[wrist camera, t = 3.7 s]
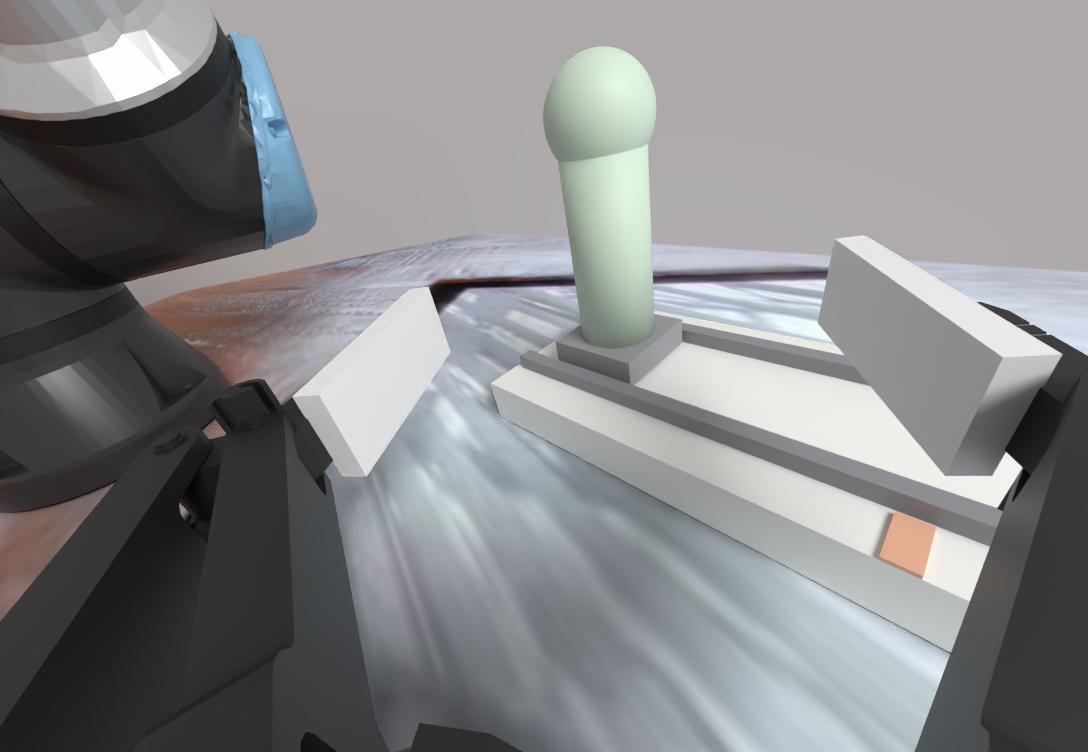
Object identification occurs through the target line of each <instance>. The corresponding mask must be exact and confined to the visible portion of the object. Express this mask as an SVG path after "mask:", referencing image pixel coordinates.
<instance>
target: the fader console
mask: <svg viewBox="0 0 1088 752" xmlns="http://www.w3.org/2000/svg"><path fill="white" fill-rule="evenodd" d="M654 314H657V315H662V316H667V317H672V318H678V319H682V343H681V344H680V345H679V346H678V347H677V348H676V349H674V350H673V351H672V352H671V353H670V354H669V355H668V356H667V357H665V358H664V359H663V360H662V361H661V362H660V363H659V364H658V365H656V366H655V367H654V368H653V369H652V370H651V371H650V372H649V373H647V374H646V375H645V376H644V377H643V378H642V379H641V380H639V381H638V382H637V383H636V384H635V385H631V384H628V383H625V382H622V381H619V380H616V379H613V378H610V377H607V376H604V375H601V374H599V373H596V372H593V371H590V370H587V369H584V368H581V367H578V366H575V365H572V364H569V363H566V362H563V361H560V360H559V359H558V353H557V348H556V342H555V341H557V340H558V339H560V338H561V337H563V336H564V335H566V334H567V333H569V332H570V331H572V330H573V329H575V328H576V327H578V326H579V325H581V324H579V325H578V326H576V327H575V328H573V329H572V330H570V331H569V332H567V333H566V334H564V335H563V336H561V337H560V338H558V339H557V340H555V341H553V342H552V343H550V344H549V345H547V346H546V347H544V348H543V349H541V350H540V351H538V352H537V353H536V352H533V351H530V350H529V351H528V352H526V353H525V354H523V355H522V356H520V358H521V362H522V363H520V364H519V365H517V366H516V367H514V368H513V369H511V370H510V371H508V372H507V373H505V374H504V375H502V376H501V377H499V378H498V379H496V380H495V381H493V382H492V383H491V386H492V390H493V393H494V396H495V400H496V403H497V406H498V410H499V413H500V416H501V417H503V418H505V419H507V420H509V421H511V422H513V423H514V424H516V425H518V426H520V427H522V428H524V429H526V430H528V431H530V432H532V433H533V434H535V435H537V436H539V437H541V438H543V439H545V440H547V441H549V442H551V443H552V444H554V445H556V446H558V447H560V448H562V449H564V450H566V451H568V452H570V453H572V454H573V455H575V456H577V457H579V458H581V459H583V460H585V461H587V462H589V463H591V464H592V465H594V466H596V467H598V468H600V469H602V470H604V471H606V472H608V473H610V474H611V475H613V476H615V477H617V478H619V479H621V480H623V481H625V482H627V483H629V484H630V485H632V486H634V487H636V488H638V489H640V490H642V491H644V492H646V493H648V494H650V495H651V496H653V497H655V498H657V499H659V500H661V501H663V502H665V503H667V504H669V505H670V506H672V507H674V508H676V509H678V510H680V511H682V512H684V513H686V514H688V515H689V516H691V517H693V518H695V519H697V520H699V521H701V522H703V523H705V524H707V525H708V526H710V527H712V528H714V529H716V530H718V531H720V532H722V533H724V534H726V535H727V536H729V537H731V538H733V539H735V540H737V541H739V542H741V543H743V544H745V545H747V546H748V547H750V548H752V549H754V550H756V551H758V552H760V553H762V554H764V555H766V556H767V557H769V558H771V559H773V560H775V561H777V562H779V563H781V564H783V565H785V566H786V567H788V568H790V569H792V570H794V571H796V572H798V573H800V574H802V575H804V576H805V577H807V578H809V579H811V580H813V581H815V582H817V583H819V584H821V585H823V586H825V587H826V588H828V589H830V590H832V591H834V592H836V593H838V594H840V595H842V596H844V597H845V598H847V599H849V600H851V601H853V602H855V603H857V604H859V605H861V606H863V607H864V608H866V609H868V610H870V611H872V612H874V613H876V614H878V615H880V616H882V617H883V618H885V619H887V620H889V621H891V622H893V623H895V624H897V625H899V626H901V627H902V628H904V629H906V630H908V631H910V632H912V633H914V634H916V635H918V636H920V637H922V638H923V639H925V640H927V641H929V642H931V643H933V644H935V645H937V646H939V647H941V648H942V649H944V650H946V651H948V652H950V653H951V651H952V649H953V646H954V643H955V640H956V638H957V635H958V632H959V630H960V627H961V624H962V621H963V619H964V616H965V613H966V610H967V608H968V605H969V602H970V600H971V597H972V594H973V591H974V589H975V586H976V583H977V581H978V578H979V575H980V572H981V570H982V567H983V564H984V561H985V559H986V556H987V553H988V551H989V548H990V545H991V542H992V540H993V537H994V534H995V531H996V529H997V526H998V523H999V521H1000V518H1001V515H1002V512H1003V511H1001V510H998V509H997V508H998V506H999V505H1000V503H1001V501H1002V500H1003V498H1004V497H1005V495H1006V493H1007V492H1008V490H1009V489H1010V487H1011V485H1012V484H1013V482H1014V481H1015V479H1016V477H1017V476H1018V474H1019V473H1020V471H1021V469H1022V468H1023V467H1022V466H1020V465H1019V464H1018V463H1017V462H1016V461H1015V460H1014V459H1013V458H1012V457H1011V456H1010V455H1009V454H1008V453H1007V452H1006V453H1005V455H1004V456H1003V458H1002V460H1001V462H1000V463H999V465H998V467H997V468H996V470H995V472H994V474H993V475H992V476H945V475H944V474H943V473H942V472H941V471H940V469H939V468H938V467H937V466H936V465H935V463H934V462H933V461H932V460H931V459H930V457H929V456H928V455H927V454H926V453H925V451H924V450H923V449H922V448H921V447H920V445H919V444H918V443H917V442H916V441H915V439H914V438H913V437H912V436H911V435H910V433H909V432H908V431H907V430H906V429H905V427H904V426H903V425H902V424H901V423H900V421H899V420H898V419H897V418H896V417H895V415H894V414H893V413H892V412H891V410H890V409H889V408H888V407H887V406H886V404H885V403H884V402H883V401H882V400H881V398H880V397H879V396H878V395H877V394H876V392H875V391H874V390H873V389H872V388H871V386H870V385H869V384H868V383H867V382H866V380H865V379H864V378H863V377H862V376H861V374H860V373H859V372H858V371H857V370H856V368H855V367H854V366H853V365H852V364H851V362H850V361H849V360H848V359H847V358H846V356H845V355H844V354H843V353H842V352H841V350H840V349H839V348H838V347H837V346H836V345H832V344H827V343H822V342H816V341H811V340H806V339H801V338H795V337H790V336H785V335H780V334H774V333H769V332H764V331H759V330H754V329H748V328H743V327H738V326H733V325H727V324H722V323H717V322H712V321H706V320H701V319H696V318H691V317H685V316H680V315H675V314H670V313H664V312H659V311H654Z"/></svg>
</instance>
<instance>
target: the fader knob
mask: <svg viewBox="0 0 1088 752" xmlns="http://www.w3.org/2000/svg"><path fill="white" fill-rule="evenodd" d="M655 119H656V98H655V92H654V88H653V85H652V82H651V80H650V78H649V75H648V73H647V72H646V70H645V69H644V67H643V66H642V65H641V64H640V63H639V62H638V61H637V59H635V58H634V57H633V56H631V55H630V54H629V53H627V52H625V51H623V50H620V49H617V48H613V47H594V48H590V49H587V50H584V51H582V52H580V53H578V54H576V55H575V56H574V57H572V58H571V59H570V60H568V61H567V62H566V63H565V64H564V65H563V66H562V67H561V69H560V70H559V71H558V73H557V74H556V76H555V77H554V79H553V81H552V83H551V85H550V87H549V89H548V92H547V95H546V99H545V104H544V112H543V122H544V131H545V135H546V139H547V142H548V145H549V147H550V149H551V151H552V153H553V154H554V156H555V157H556V159H557V160H558V164H559V171H560V178H561V184H562V192H563V199H564V206H565V213H566V220H567V227H568V234H569V241H570V248H571V255H572V262H573V269H574V276H575V283H576V290H577V297H578V304H579V311H580V318H581V325H579V326H578V327H576V328H575V329H573V330H572V331H570V332H569V333H567V334H566V335H564V336H563V337H561V338H560V339H558V340H557V341H555V342H556V348H557V353H558V359H559V360H560V361H563V362H566V363H569V364H572V365H575V366H578V367H581V368H584V369H587V370H590V371H593V372H596V373H599V374H601V375H604V376H607V377H610V378H613V379H616V380H619V381H622V382H625V383H628V384H631V385H635V384H636V383H637V382H638V381H639V380H641V379H642V378H643V377H644V376H645V375H646V374H647V373H649V372H650V371H651V370H652V369H653V368H654V367H655V366H656V365H658V364H659V363H660V362H661V361H662V360H663V359H664V358H665V357H667V356H668V355H669V354H670V353H671V352H672V351H673V350H674V349H676V348H677V347H678V346H679V345H680V344H681V343H682V319H678V318H672V317H667V316H662V315H657V314H654V298H653V272H652V245H651V220H650V219H651V218H650V195H649V194H650V191H649V165H648V142H649V140H650V137H651V135H652V132H653V128H654V124H655Z"/></svg>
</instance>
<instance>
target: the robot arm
mask: <svg viewBox="0 0 1088 752" xmlns="http://www.w3.org/2000/svg"><path fill="white" fill-rule="evenodd" d="M316 220H317V209H316V205H315V202H314V198H313V196H312V192H311V189H310V186H309V183H308V180H307V177H306V174H305V171H304V168H303V165H302V163H301V159H300V156H299V153H298V150H297V148H296V145H295V142H294V139H293V136H292V133H291V130H290V127H289V124H288V121H287V118H286V116H285V113H284V109H283V106H282V103H281V100H280V98H279V95H278V92H277V89H276V86H275V83H274V80H273V77H272V74H271V71H270V69H269V66H268V63H267V61H266V58H265V55H264V52H263V49H262V47H261V45H260V43H259V42H258V41H257V40H256V39H255V38H253V37H251V36H248V35H241V34H239V33H235V32H230V33H229V35H227V36H225V35H224V33H223V31H222V30H221V28H220V26H219V24H218V22H217V20H216V18H215V17H214V15H213V13H212V11H211V9H210V8H209V6H208V5H207V3H206V2H205V1H204V0H0V512H21V511H28V510H33V509H38V508H42V507H46V506H49V505H53V504H56V503H60V502H63V501H66V500H69V499H72V498H74V497H77V496H80V495H82V494H85V493H88V492H90V491H93V490H95V489H97V488H100V487H102V486H104V485H107V484H109V483H111V482H113V481H115V480H117V479H118V480H117V481H116V483H115V484H114V485H113V486H112V487H111V489H110V490H109V491H108V492H107V494H106V495H105V496H104V497H103V498H102V500H101V501H100V502H99V503H98V504H97V506H96V507H95V508H94V509H93V510H92V512H91V513H90V514H89V515H88V516H87V518H86V519H85V520H84V521H83V523H82V524H81V525H80V526H79V527H78V529H77V530H76V531H75V532H74V533H73V535H72V536H71V537H70V538H69V539H68V541H67V542H66V543H65V544H64V545H63V547H62V548H61V549H60V550H59V552H58V553H57V554H56V555H55V556H54V558H53V559H52V560H51V561H50V562H49V564H48V565H47V566H46V567H45V568H44V570H43V571H42V572H41V573H40V574H39V576H38V577H37V578H36V579H35V580H34V582H33V583H32V584H31V585H30V587H29V588H28V589H27V590H26V591H25V593H24V594H23V595H22V596H21V597H20V599H19V600H18V601H17V602H16V603H15V605H14V606H13V607H12V608H11V609H10V611H9V612H8V613H7V614H6V616H5V617H4V618H3V619H2V620H1V622H0V752H389V751H388V748H387V746H386V744H385V742H384V740H383V738H382V736H381V734H380V732H379V730H378V727H377V724H376V721H375V717H374V713H373V708H372V702H371V697H370V692H369V686H368V681H367V675H366V670H365V665H364V659H363V654H362V648H361V643H360V637H359V632H358V627H357V621H356V616H355V610H354V605H353V600H352V594H351V589H350V583H349V578H348V573H347V567H346V562H345V556H344V551H343V545H342V540H341V535H340V529H339V524H338V518H337V513H336V508H335V502H334V497H333V491H332V486H331V481H330V479H329V478H328V476H327V475H326V473H325V472H324V471H325V470H326V468H327V467H328V466H329V465H330V463H331V462H332V461H333V463H334V464H335V466H336V467H337V469H338V471H339V472H340V474H341V475H342V477H367V475H368V474H369V472H370V471H371V469H372V468H373V466H374V465H375V463H376V462H377V460H378V459H379V458H380V456H381V455H382V453H383V452H384V450H385V449H386V447H387V446H388V444H389V443H390V441H391V440H392V438H393V437H394V435H395V434H396V432H397V431H398V429H399V428H400V426H401V425H402V423H403V422H404V420H405V419H406V417H407V416H408V414H409V413H410V411H411V410H412V408H413V407H414V405H415V404H416V402H417V401H418V399H419V398H420V397H421V395H422V394H423V392H424V391H425V389H426V388H427V386H428V385H429V383H430V382H431V380H432V379H433V377H434V376H435V374H436V373H437V371H438V370H439V368H440V367H441V365H442V364H443V362H444V361H445V359H446V358H447V356H448V355H449V353H450V352H451V351H450V348H449V345H448V342H447V339H446V337H445V334H444V331H443V328H442V325H441V322H440V319H439V316H438V313H437V310H436V308H435V305H434V302H433V299H432V296H431V293H430V290H429V287H424V288H415V289H409V290H408V291H407V292H406V293H405V294H404V295H403V296H402V297H401V298H399V299H398V300H397V301H396V302H395V303H394V304H393V305H392V306H391V307H390V308H389V309H387V310H386V311H385V312H384V313H383V314H382V315H381V316H380V317H379V318H378V319H376V320H375V321H374V322H373V323H372V324H371V325H370V326H369V327H368V328H367V329H366V330H364V331H363V332H362V333H361V334H360V335H359V336H358V337H357V338H356V339H355V340H354V341H352V342H351V343H350V344H349V345H348V346H347V347H346V348H345V349H344V350H343V351H342V352H340V353H339V354H338V355H337V356H336V357H335V358H334V359H333V360H332V361H331V362H330V363H328V364H327V365H326V366H325V367H324V368H323V369H322V370H321V371H320V372H319V373H318V374H316V375H315V376H314V377H313V378H312V379H311V380H310V381H309V382H308V383H307V384H306V385H304V386H303V387H302V388H301V389H300V390H299V391H298V392H297V393H296V394H295V395H293V396H292V398H291V399H290V400H289V401H288V402H287V403H285V404H284V405H283V406H281V404H280V403H279V401H278V400H277V398H276V397H275V395H274V394H273V392H272V391H271V389H270V388H269V386H268V385H267V383H266V381H265V380H262V379H254V380H248V381H245V382H242V383H238V384H236V385H234V386H231V384H230V383H229V381H228V380H227V378H226V377H225V376H224V374H223V373H222V371H221V370H220V369H219V367H218V366H217V365H216V364H215V363H214V362H213V361H212V360H210V359H209V358H207V357H206V356H205V355H203V354H202V353H201V352H199V351H198V350H196V349H195V348H194V347H192V346H191V345H190V344H188V343H187V342H185V341H184V340H183V339H181V338H180V337H179V336H177V335H176V334H174V333H173V332H172V331H170V330H169V329H168V328H166V327H165V326H163V325H162V324H161V323H159V322H158V321H157V320H155V319H154V318H152V317H151V316H150V315H149V314H148V313H147V312H146V311H145V310H144V309H143V308H142V306H141V305H140V304H139V302H138V301H137V300H136V299H135V298H134V296H133V295H132V294H131V293H130V291H129V290H128V288H127V287H126V285H125V284H124V283H123V282H127V281H131V280H136V279H138V278H143V277H147V276H151V275H155V274H160V273H164V272H168V271H172V270H176V269H180V268H185V267H189V266H193V265H197V264H202V263H206V262H210V261H213V260H218V259H222V258H226V257H231V256H235V255H239V254H243V253H248V252H252V251H256V250H260V249H264V250H265V249H268V248H271V247H272V246H273V244H276V243H280V242H283V241H286V240H289V239H292V238H295V237H298V236H302V235H304V234H306V233H307V232H309V231H310V230H311V228H313V227H314V225H315V222H316ZM818 324H819V325H820V326H821V327H822V329H823V330H824V331H825V332H826V333H827V335H828V336H829V337H830V338H831V339H832V341H833V342H834V343H835V344H836V346H837V347H838V348H839V349H840V350H841V352H842V353H843V354H844V355H845V356H846V358H847V359H848V360H849V361H850V362H851V364H852V365H853V366H854V367H855V368H856V370H857V371H858V372H859V373H860V374H861V376H862V377H863V378H864V379H865V380H866V382H867V383H868V384H869V385H870V386H871V388H872V389H873V390H874V391H875V392H876V394H877V395H878V396H879V397H880V398H881V400H882V401H883V402H884V403H885V404H886V406H887V407H888V408H889V409H890V410H891V412H892V413H893V414H894V415H895V417H896V418H897V419H898V420H899V421H900V423H901V424H902V425H903V426H904V427H905V429H906V430H907V431H908V432H909V433H910V435H911V436H912V437H913V438H914V439H915V441H916V442H917V443H918V444H919V445H920V447H921V448H922V449H923V450H924V451H925V453H926V454H927V455H928V456H929V457H930V459H931V460H932V461H933V462H934V463H935V465H936V466H937V467H938V468H939V469H940V471H941V472H942V473H943V474H944V475H945V476H992V475H993V474H994V472H995V470H996V468H997V467H998V465H999V463H1000V462H1001V460H1002V458H1003V456H1004V455H1005V453H1006V452H1007V453H1008V454H1009V455H1010V456H1011V457H1012V458H1013V459H1014V460H1015V461H1016V462H1017V463H1018V464H1019V465H1020V466H1022V467H1023V468H1022V469H1021V471H1020V473H1019V474H1018V476H1017V477H1016V479H1015V481H1014V482H1013V484H1012V485H1011V487H1010V489H1009V490H1008V492H1007V493H1006V495H1005V497H1004V498H1003V500H1002V501H1001V503H1000V505H999V506H998V508H997V509H998V510H1001V511H1003V512H1002V515H1001V518H1000V521H999V523H998V526H997V529H996V531H995V534H994V537H993V540H992V542H991V545H990V548H989V551H988V553H987V556H986V559H985V561H984V564H983V567H982V570H981V572H980V575H979V578H978V581H977V583H976V586H975V589H974V591H973V594H972V597H971V600H970V602H969V605H968V608H967V610H966V613H965V616H964V619H963V621H962V624H961V627H960V630H959V632H958V635H957V638H956V640H955V643H954V646H953V649H952V651H951V654H950V657H949V660H948V662H947V665H946V668H945V670H944V673H943V676H942V679H941V681H940V684H939V687H938V689H937V692H936V695H935V698H934V700H933V703H932V706H931V709H930V711H929V714H928V717H927V719H926V722H925V725H924V728H923V730H922V733H921V736H920V739H919V741H918V744H917V747H916V749H915V752H1088V356H1087V355H1085V354H1084V353H1082V352H1080V351H1078V350H1077V349H1075V348H1073V347H1071V346H1070V345H1068V344H1066V343H1064V342H1063V341H1061V340H1059V339H1057V338H1056V337H1054V336H1052V335H1046V333H1047V332H1045V331H1043V330H1042V329H1040V328H1038V327H1036V326H1035V325H1029V322H1028V321H1026V320H1024V319H1022V318H1021V317H1019V316H1017V315H1015V314H1014V313H1012V312H1010V311H1008V310H1004V309H1001V308H998V307H995V306H992V305H989V304H985V303H982V302H975V301H973V300H972V299H970V298H968V297H967V296H965V295H963V294H962V293H960V292H958V291H957V290H955V289H953V288H952V287H950V286H948V285H947V284H945V283H943V282H942V281H940V280H938V279H937V278H935V277H933V276H932V275H930V274H928V273H927V272H925V271H923V270H922V269H920V268H918V267H917V266H915V265H913V264H912V263H910V262H908V261H907V260H905V259H903V258H902V257H900V256H898V255H897V254H895V253H893V252H892V251H890V250H888V249H886V248H885V247H883V246H882V245H880V244H878V243H877V242H875V241H873V240H871V239H870V238H868V237H867V236H865V235H864V236H855V237H847V238H839V239H835V240H834V245H833V250H832V255H831V260H830V265H829V270H828V275H827V280H826V285H825V290H824V295H823V300H822V305H821V310H820V315H819V320H818ZM213 418H215V419H216V421H217V422H218V423H219V425H220V426H221V427H222V428H223V430H224V431H225V432H226V436H222V437H218V438H214V439H210V440H209V439H208V437H207V436H206V435H205V434H204V432H203V431H202V430H201V429H202V428H203V427H204V426H205V425H206V424H208V423H209V422H210V421H211V420H212V419H213ZM179 503H180V504H181V505H182V506H183V507H184V508H185V509H186V510H187V511H188V512H189V513H190V514H191V515H192V518H191V519H190V521H189V523H188V524H187V523H186V522H185V521H184V519H183V517H182V516H181V514H180V509H179ZM177 707H178V708H177ZM176 710H177V711H176ZM398 752H522V751H520V750H518V749H517V748H515V747H513V746H511V745H509V744H508V743H506V742H504V741H502V740H500V739H498V738H497V737H495V736H493V735H491V734H488V733H482V732H475V731H468V730H462V729H455V728H449V727H442V726H435V725H429V724H422V723H419V726H418V729H417V732H416V735H415V738H414V741H413V744H412V747H409V748H406V749H403V750H400V751H398Z"/></svg>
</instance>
